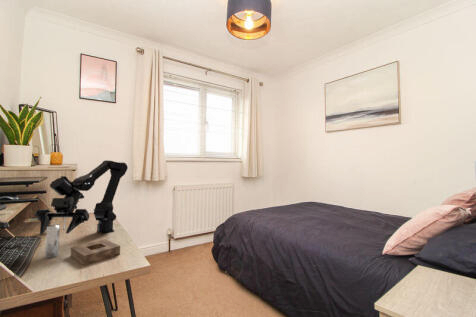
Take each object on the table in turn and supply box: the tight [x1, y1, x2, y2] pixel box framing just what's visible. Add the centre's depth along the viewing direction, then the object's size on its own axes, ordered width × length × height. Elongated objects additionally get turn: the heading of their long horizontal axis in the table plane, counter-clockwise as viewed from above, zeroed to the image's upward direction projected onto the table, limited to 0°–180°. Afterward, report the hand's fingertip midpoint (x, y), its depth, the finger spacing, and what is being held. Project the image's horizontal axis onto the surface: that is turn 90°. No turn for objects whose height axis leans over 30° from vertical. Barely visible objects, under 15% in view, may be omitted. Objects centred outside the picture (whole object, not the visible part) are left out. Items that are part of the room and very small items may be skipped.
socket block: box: [70, 239, 121, 266], centre depth 92 cm, size 13×13×4 cm
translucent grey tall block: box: [45, 224, 61, 259], centre depth 91 cm, size 4×4×12 cm
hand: (54, 233), depth 92 cm, fingers open, 9 cm apart
